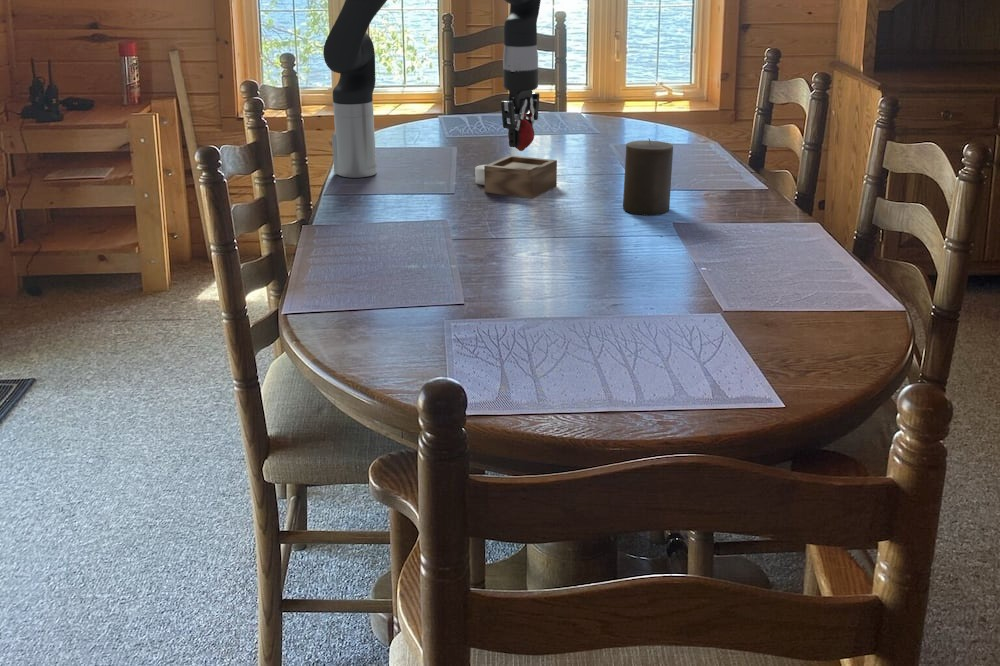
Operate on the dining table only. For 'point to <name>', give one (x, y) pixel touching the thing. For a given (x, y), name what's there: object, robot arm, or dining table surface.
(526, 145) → the onion
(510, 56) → the robot arm
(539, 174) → the brown open square tray
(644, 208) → the pillar candle
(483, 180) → the white rounded pebble
